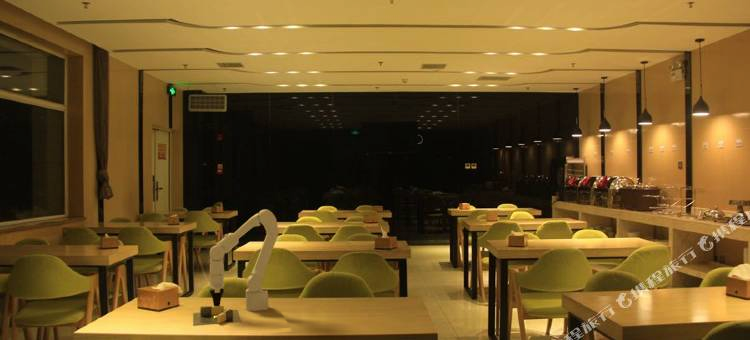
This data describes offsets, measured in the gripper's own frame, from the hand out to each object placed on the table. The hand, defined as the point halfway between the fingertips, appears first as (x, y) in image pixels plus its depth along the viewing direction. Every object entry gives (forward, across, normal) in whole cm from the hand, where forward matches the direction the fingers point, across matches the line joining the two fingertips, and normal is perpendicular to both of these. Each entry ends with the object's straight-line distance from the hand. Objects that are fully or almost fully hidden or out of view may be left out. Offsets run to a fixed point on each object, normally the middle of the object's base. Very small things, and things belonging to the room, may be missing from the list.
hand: (216, 306), depth 244 cm
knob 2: (+2, +18, +2) cm, 18 cm away
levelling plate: (+3, +10, 0) cm, 11 cm away
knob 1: (+2, +6, -2) cm, 6 cm away
